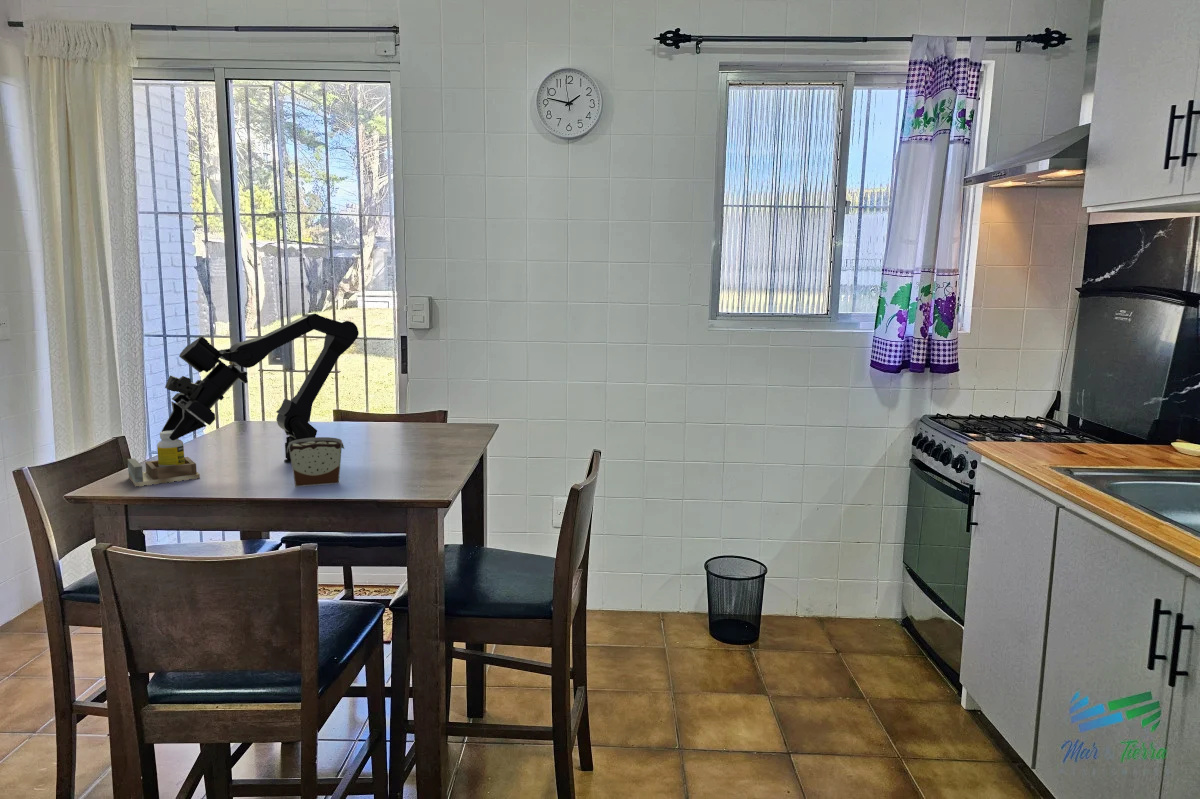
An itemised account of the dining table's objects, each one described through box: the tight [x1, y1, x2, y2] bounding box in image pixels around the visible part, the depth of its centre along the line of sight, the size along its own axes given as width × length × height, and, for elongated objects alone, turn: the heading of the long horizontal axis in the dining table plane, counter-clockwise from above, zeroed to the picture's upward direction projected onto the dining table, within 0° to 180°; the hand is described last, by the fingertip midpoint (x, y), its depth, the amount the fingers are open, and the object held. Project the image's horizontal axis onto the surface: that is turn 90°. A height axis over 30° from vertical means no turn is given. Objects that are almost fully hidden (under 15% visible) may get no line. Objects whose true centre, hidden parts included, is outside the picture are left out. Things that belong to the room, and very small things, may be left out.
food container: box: [287, 436, 345, 488], centre depth 180 cm, size 12×6×10 cm, turn 111°
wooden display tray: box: [127, 456, 201, 487], centre depth 182 cm, size 13×10×4 cm
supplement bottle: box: [156, 430, 185, 467], centre depth 183 cm, size 5×5×10 cm
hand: (166, 436), depth 182 cm, fingers open, 9 cm apart
